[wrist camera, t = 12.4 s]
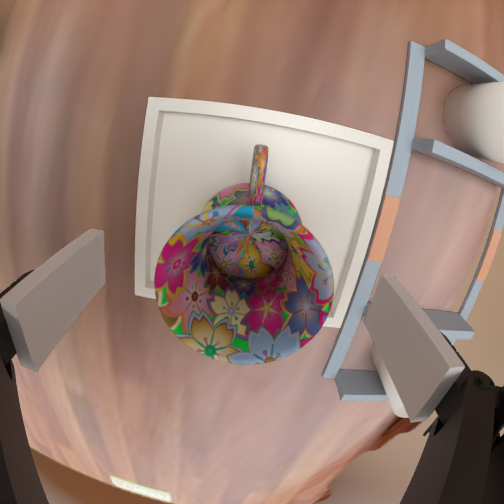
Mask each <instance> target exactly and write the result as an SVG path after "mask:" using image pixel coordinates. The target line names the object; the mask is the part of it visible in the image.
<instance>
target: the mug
mask: <svg viewBox="0 0 504 504" xmlns="http://www.w3.org/2000/svg"><path fill="white" fill-rule="evenodd" d="M268 151H269V149H268V147H267V146H266V145H261V144H258V145H255V147H254V152H253V160H252V167H251V175H250V183H240V184H235V185H232V186H229V187H227V188H225V189H223V190H221V191H219V192H218V193H217V194H215V195H214V196H213V197H212V198H211V199H210V200H209V201H208V202H207V203H206V205H205V206H204V208H203V210H202V211H201V214H199V215H197V216H195V217H193V218H192V219H190V220H188V221H187V222H186V223H184V224H183V225H182V226H181V227H180V228H178V229H177V230H176V231H175V232H174V234H173V235H172V236H171V237H170V238H169V240H168V241H167V243H166V244H165V246H164V247H163V249H162V251H161V253H160V256H159V258H158V261H157V265H156V269H155V276H154V287H155V295H156V300H157V304H158V307H159V309H160V312H161V314H162V316H163V318H164V320H165V321H166V323H167V324H168V326H169V327H170V329H171V330H172V331H173V332H174V334H175V335H176V336H177V337H178V338H179V339H180V340H182V341H183V342H184V343H185V344H186V345H188V346H189V347H191V348H192V349H194V350H195V351H197V352H199V353H201V354H203V355H205V356H207V357H210V358H212V359H215V360H218V361H222V362H226V363H232V364H249V365H250V364H261V363H267V362H271V361H275V360H278V359H281V358H283V357H286V356H288V355H290V354H292V353H294V352H295V351H297V350H299V349H300V348H302V347H303V346H304V345H306V344H307V343H308V342H309V341H310V340H311V339H312V338H313V337H314V336H315V335H316V334H317V333H318V331H319V330H320V329H321V327H322V326H323V324H324V323H325V321H326V319H327V317H328V315H329V312H330V309H331V306H332V302H333V297H334V276H333V271H332V267H331V264H330V261H329V258H328V256H327V254H326V252H325V250H324V249H323V247H322V246H321V244H320V242H319V241H318V240H317V239H316V237H315V236H314V235H313V234H312V233H311V232H310V231H309V230H308V229H307V228H306V227H304V226H303V225H302V222H301V218H300V216H299V213H298V211H297V210H296V208H295V206H294V205H293V204H292V202H291V201H290V200H289V199H288V198H287V197H286V196H285V195H283V194H282V193H281V192H279V191H278V190H276V189H274V188H272V187H269V186H267V185H265V178H266V170H267V162H268Z"/></svg>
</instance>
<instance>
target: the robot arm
mask: <svg viewBox="0 0 504 504" xmlns="http://www.w3.org/2000/svg"><path fill="white" fill-rule="evenodd" d="M105 283H106V275H105V253H104V230H98V229H91V228H90V229H89V230H87V231H86V232H84V233H83V234H82V235H80V236H79V237H77V238H76V239H75V240H73V241H72V242H71V243H69V244H68V245H66V246H65V247H64V248H62V249H61V250H60V251H58V252H57V253H56V254H54V255H53V256H52V257H50V258H49V259H48V260H47V261H45V262H44V263H43V264H41V265H40V266H39V267H38V268H36V269H34V270H32V271H29V272H27V273H25V274H23V275H22V276H21V277H20V278H18V279H17V281H15V282H14V283H12V284H11V285H10V287H8V288H6V289H5V290H4V291H3V292H2V293H0V504H49V503H48V500H47V498H46V495H45V492H44V490H43V487H42V484H41V482H40V479H39V476H38V473H37V470H36V467H35V464H34V461H33V457H32V454H31V450H30V447H29V443H28V439H27V435H26V431H25V427H24V423H23V418H22V413H21V408H20V403H19V397H18V391H17V385H16V378H15V370H14V365H13V362H12V360H11V359H12V358H13V356H14V355H15V354H16V353H17V356H18V359H19V361H20V364H21V365H22V366H24V367H26V368H28V369H31V370H33V371H35V372H37V371H38V370H39V368H40V367H41V365H42V364H43V363H44V361H45V360H46V358H47V357H48V356H49V354H50V353H51V352H52V350H53V349H54V348H55V346H56V345H57V343H58V342H59V341H60V340H61V338H62V337H63V336H64V334H65V333H66V332H67V330H68V329H69V328H70V326H71V325H72V324H73V323H74V321H75V320H76V319H77V318H78V316H79V315H80V314H81V313H82V311H83V310H84V309H85V308H86V306H87V305H88V304H89V303H90V301H91V300H92V299H93V298H94V297H95V295H96V294H97V293H98V292H99V291H100V289H101V288H102V287H103V286H104V285H105ZM364 323H365V325H366V327H367V329H368V331H369V333H370V335H371V337H372V339H373V341H374V343H375V345H376V347H377V349H378V352H379V354H380V356H381V358H382V360H383V362H384V364H385V366H386V368H387V370H388V372H389V375H390V377H391V379H392V381H393V383H394V385H395V388H396V390H397V392H398V394H399V397H400V399H401V401H402V403H403V406H404V408H405V410H406V412H407V415H408V417H409V419H410V422H411V423H412V422H419V421H425V420H427V419H428V418H429V416H430V415H431V414H432V413H433V411H434V410H436V412H437V414H438V417H437V418H436V419H435V421H434V422H433V423H432V424H431V425H430V426H429V428H428V429H427V430H426V431H425V433H424V434H423V435H424V436H426V434H427V433H428V432H430V434H429V436H428V439H427V442H426V445H425V447H424V450H423V453H422V455H421V458H420V460H419V463H418V465H417V468H416V470H415V472H414V475H413V477H412V479H411V481H410V484H409V486H408V488H407V490H406V492H405V494H404V496H403V498H402V500H401V502H400V504H504V434H503V435H502V436H501V437H500V433H499V432H500V431H501V430H502V428H503V427H504V386H503V387H499V386H495V384H494V382H493V381H492V379H491V378H490V377H489V376H487V375H486V374H484V373H483V372H481V371H474V370H473V371H471V370H470V368H469V367H468V365H467V364H466V363H465V361H464V360H463V358H462V357H461V356H460V355H459V353H458V352H456V349H455V347H454V346H453V345H452V343H451V342H450V341H449V339H448V338H447V337H446V336H445V335H444V334H443V333H442V332H440V331H439V330H438V329H437V327H436V326H435V325H434V324H433V322H432V321H431V320H430V318H429V317H428V316H427V315H426V313H425V312H424V311H423V310H422V308H421V307H420V306H419V305H418V303H417V302H416V301H415V300H414V298H413V297H412V296H411V295H410V294H409V292H408V291H407V290H406V289H405V288H404V286H403V285H402V284H401V283H400V282H399V280H398V279H397V278H396V277H395V276H390V275H384V274H382V275H381V278H380V281H379V284H378V286H377V289H376V292H375V295H374V297H373V300H372V302H371V305H370V307H369V310H368V312H367V315H366V317H365V320H364Z"/></svg>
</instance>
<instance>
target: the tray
mask: <svg viewBox="0 0 504 504" xmlns="http://www.w3.org/2000/svg"><path fill="white" fill-rule="evenodd" d="M393 143H394V141H392V140H389V139H386V138H383V137H379V136H376V135H373V134H370V133H366V132H363V131H359V130H356V129H352V128H348V127H345V126H341V125H337V124H333V123H329V122H325V121H321V120H317V119H312V118H308V117H303V116H298V115H294V114H289V113H283V112H278V111H273V110H267V109H261V108H255V107H249V106H242V105H235V104H227V103H219V102H210V101H200V100H189V99H175V98H158V97H149V99H148V105H147V112H146V118H145V126H144V133H143V141H142V150H141V159H140V169H139V180H138V193H137V209H136V230H135V295H138V296H143V297H147V298H152V299H156V295H155V287H154V276H155V269H156V265H157V261H158V258H159V256H160V253H161V251H162V249H163V247H164V246H165V244H166V243H167V241H168V240H169V238H170V237H171V236H172V235H173V234H174V232H175V231H176V230H177V229H178V228H180V227H181V226H182V225H183V224H184V223H186V222H187V221H188V220H190V219H192V218H193V217H195V216H197V215H199V214H201V211H202V210H203V208H204V206H205V205H206V203H207V202H208V201H209V200H210V199H211V198H212V197H213V196H214V195H215V194H217V193H218V192H219V191H221V190H223V189H225V188H227V187H229V186H232V185H235V184H240V183H250V175H251V167H252V160H253V152H254V147H255V145H258V144H261V145H266V146H267V147H268V149H269V151H268V162H267V170H266V178H265V185H267V186H269V187H272V188H274V189H276V190H278V191H279V192H281V193H282V194H283V195H285V196H286V197H287V198H288V199H289V200H290V201H291V202H292V204H293V205H294V206H295V208H296V210H297V211H298V213H299V216H300V218H301V222H302V225H303V226H304V227H306V228H307V229H308V230H309V231H310V232H311V233H312V234H313V235H314V236H315V237H316V239H317V240H318V241H319V242H320V244H321V246H322V247H323V249H324V250H325V252H326V254H327V256H328V258H329V261H330V264H331V267H332V271H333V276H334V297H333V302H332V306H331V309H330V312H329V315H328V317H327V319H326V321H325V323H324V324H323V326H327V327H336V328H340V327H341V324H342V322H343V319H344V316H345V314H346V311H347V308H348V305H349V302H350V300H351V297H352V294H353V291H354V288H355V285H356V282H357V279H358V276H359V273H360V270H361V267H362V264H363V261H364V257H365V254H366V251H367V248H368V244H369V241H370V237H371V234H372V230H373V227H374V223H375V220H376V216H377V212H378V208H379V205H380V201H381V197H382V193H383V189H384V184H385V180H386V176H387V171H388V167H389V162H390V158H391V153H392V148H393Z"/></svg>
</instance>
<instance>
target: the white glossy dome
mask: <svg viewBox="0 0 504 504" xmlns="http://www.w3.org/2000/svg"><path fill="white" fill-rule="evenodd" d="M443 117H444V124H445V128H446V132H447V134H448V136H449V138H450V140H451V142H452V143H453V145H454V146H455V147H456V148H457V149H458V150H459V151H461V152H463V153H466V154H468V155H470V156H472V157H476V158H481V159H486V160H490V161H495V162H499V163H503V164H504V81H501V82H491V83H482V84H473V85H466V86H460V87H456V88H454V89H453V90H452V91H451V92H450V93H449V94H448V96H447V98H446V101H445V104H444V111H443Z"/></svg>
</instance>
